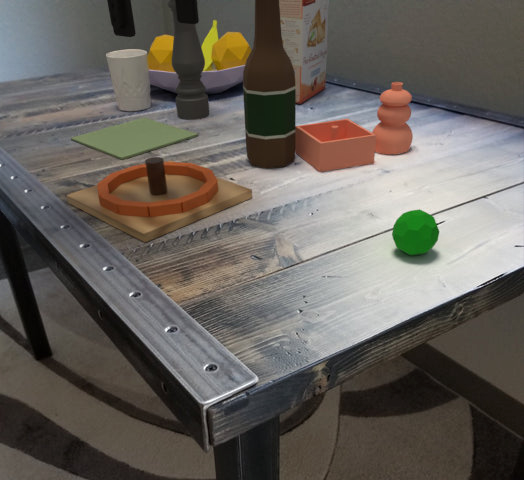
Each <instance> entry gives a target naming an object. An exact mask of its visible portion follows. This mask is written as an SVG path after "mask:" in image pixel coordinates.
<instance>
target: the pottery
mask: <svg viewBox="0 0 524 480" xmlns="http://www.w3.org/2000/svg"><path fill="white" fill-rule="evenodd" d="M403 84H404V83H403V82H401V81H393V82H391V85H390V86H391V87H390V88H389V89H386V90H385V91H383V92H381V94H380V96H379V101H380V103H381V104H380V106H379V107H378V109H377V112H376V116H377V118H378V120H379V123H377V124H376V125H375V126H374V128H373V129H372V131H370V130H368V129H367V128H365V127H363V126H361V125H359V124H357V123H355V122H354V121H352V120H350V119H349V118H343V119H335V120H328V121H322V122H315V123H308V124H300V125H295V155H297V156H299V158H301V159H303V160H304V161H305V162H306V163H308V164H309V166H311V167H312V168H314V169H315V170H316V171H317V172H318V173H323V172H328V171H335V170H342V169H347V168H354V167H360V166H365V165H372V164H375V155H376V153H377V154H382V155H390V154H394V155H400V154H399V153H402V154H405V153H408V152H409V151H410V148H411V146H412V143H413V139H414V138H413V136H414V135H413V131H412V129H411V126H410V125H409V124H408V123H407V122H408V121H410V119H411V116H412V108H411V106H410V105H409V104H410V103H411V102H412V99H413V98H412V94H411V92H409V91H408V90H406V89H403ZM408 150H409V151H408ZM404 152H405V153H404Z"/></svg>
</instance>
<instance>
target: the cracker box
mask: <svg viewBox="0 0 524 480" xmlns="http://www.w3.org/2000/svg"><path fill="white" fill-rule="evenodd" d="M279 6H280V22H281V36H282V42H283V48H284V50H285V51H286V53H287V55H288V56H289V58H290V60H291V63H292V66H293V69H294V72H295V85H296V104H300V105H302V104H303V103H305V102H306V101H308V100H309V99H311V98H312V97H314V96H316V95H317V94H319V93H321V92H322V91H323V90H326V86H327V85H326V84H327V83H326V82H327V61H328V41H329V40H328V39H329V38H328V36H329V18H330V17H329V15H330V0H279Z"/></svg>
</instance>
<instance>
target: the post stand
mask: <svg viewBox="0 0 524 480" xmlns="http://www.w3.org/2000/svg"><path fill="white" fill-rule="evenodd" d="M144 162H145V163H144V164H146V171H147V176H146V177H140V178H137V179H134V180H131V181H128V182H125V183H122V184H120V185H119V186H118V187H117V188H116V189H114V190H113V191H112V192H111V193H110V194H111V195H113V196H116V197H118V198H120V199H122V200H126V201H138V202H157V201H164V200H172V199H178V198H181V197H183V196H186V195H188V194H191V193H194V192H196V191H199V189H200V188H201V187H202V186H203V185H204V184H205V183H204V181H201V180H198V179H196V178H193V177H190V176H186V175H172V174H165V168H164V162H165V161H164V158H163V157H159V156H152V157H148V158H146V159H145V160H144ZM166 162H175V161H174V160H168V161H166ZM215 177H216V178H217V180H218V192H217V193H216V194H215V195H214V196H213V198H212V199H211V200H210V201H209V202H208V203H206V204H204V205H201V206H199V207H196V208H194V209H191V210H189V211H186V212H182V213H178V214H170V215H163V216H156V217H150V216H149V217H140V216H129V215H120V214H117V213H115V212H113V211H110V210H108V209H106V208H104V207H102V206H101V205H100V201H99V196H98V188H97V184H95V185H93V186H89V187H86V188H83V189H80V190H77V191H74V192H71V193H68V194H66V195H65V196H66V200H67V203H68V204H69V205H71V206H73V207H75V208H77V209H79V210H81V211H82V212H85V213H87V214H89V215H90V216H92V217H94V218H96V219H99V220H100V221H102V222H104V223H106V224H108V225H110V226H112V227H114V228H116V229H118V230H120V231H122V232H123V233H126V234H127V235H129V236H132V237H134V238H135V239H137V240H139V241H141V242H143V243H148V242H150V241H153V240H154V239H155V240H156V239H157V238H160V237H162V236H164V235H166V234H169V233H171V232H174V231H177V230H179V229H182V228H183V227H186V226H188V225H190V224H193V223H195V222H198V221H200V220H203V219H204V218H207V217H210V216H212V215H214V214H217V213H219V212H222V211H224V210H226V209H229V208H231V207H233V206H236V205H238V204H241V203H243V202H245V201H247V200H250V199H252V198H253V190H252V189H251V188H249V187H246V186H244V185H241V184H237V183H234V182H232V181H229V180H227V179H223V178H221V177H218V176H215Z"/></svg>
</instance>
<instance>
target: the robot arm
mask: <svg viewBox="0 0 524 480" xmlns="http://www.w3.org/2000/svg"><path fill="white" fill-rule="evenodd" d="M106 1H107V8H108V13H109V18H110V24H111V27H112V30H113V34H114V36H118V37H123V38H124V37H125V38H132V37H133V38H134V37H135V36H136V26H135V19H134V13H133V7H132V0H106ZM175 3H176V12H177V20H178V22H180V23H187V24H196V25H197V24H199V21H200V19H199V8H198V5H197V3H198V0H175Z"/></svg>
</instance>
